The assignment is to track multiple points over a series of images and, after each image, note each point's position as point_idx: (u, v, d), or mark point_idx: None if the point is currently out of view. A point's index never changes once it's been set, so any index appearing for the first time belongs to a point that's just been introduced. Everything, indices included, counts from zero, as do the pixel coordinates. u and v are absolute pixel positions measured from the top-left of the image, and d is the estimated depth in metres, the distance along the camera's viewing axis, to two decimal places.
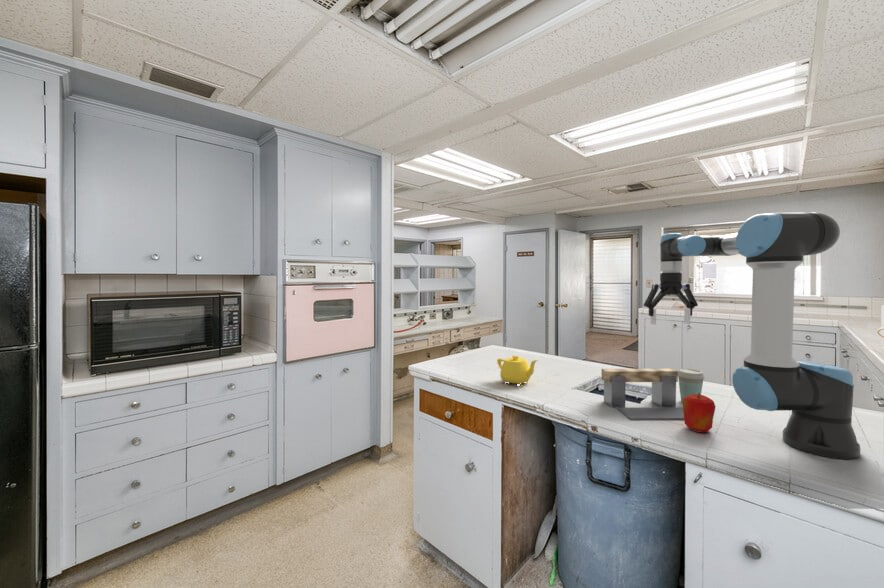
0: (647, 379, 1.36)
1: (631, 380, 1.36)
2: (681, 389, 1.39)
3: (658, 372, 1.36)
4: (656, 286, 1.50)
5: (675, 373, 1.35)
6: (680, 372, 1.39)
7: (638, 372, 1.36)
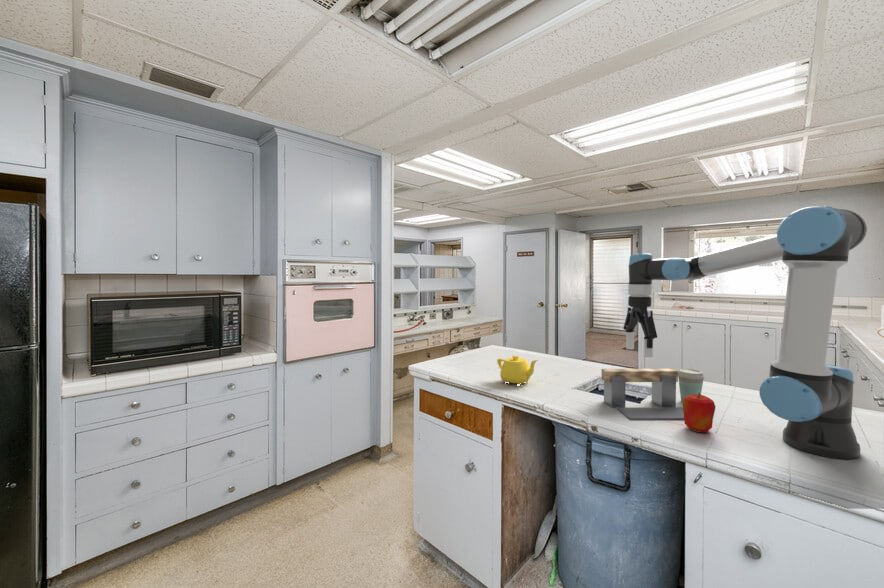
0: (647, 379, 1.36)
1: (631, 380, 1.36)
2: (681, 389, 1.39)
3: (658, 372, 1.36)
4: (628, 309, 1.43)
5: (675, 373, 1.35)
6: (680, 372, 1.39)
7: (638, 372, 1.36)
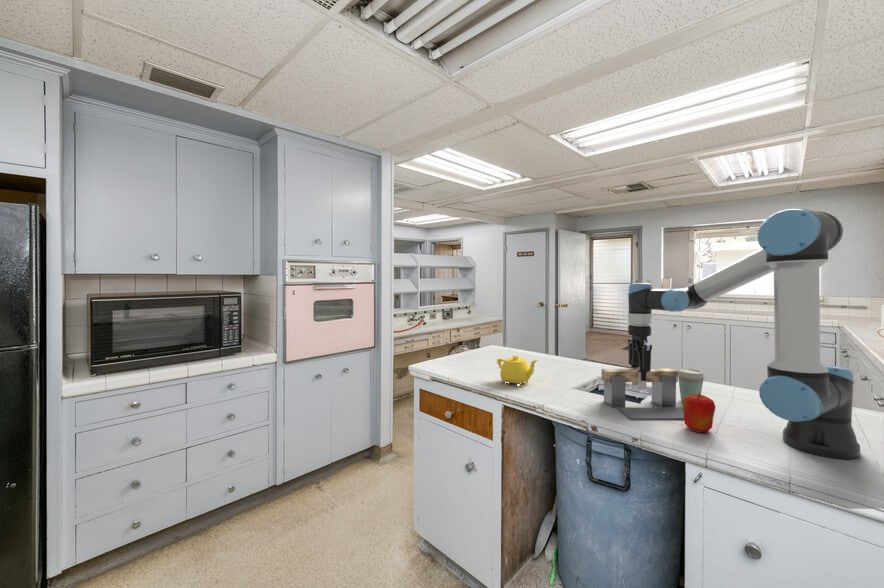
0: (647, 379, 1.36)
1: (631, 380, 1.36)
2: (681, 389, 1.39)
3: (658, 372, 1.36)
4: (628, 341, 1.43)
5: (675, 373, 1.35)
6: (680, 372, 1.39)
7: None
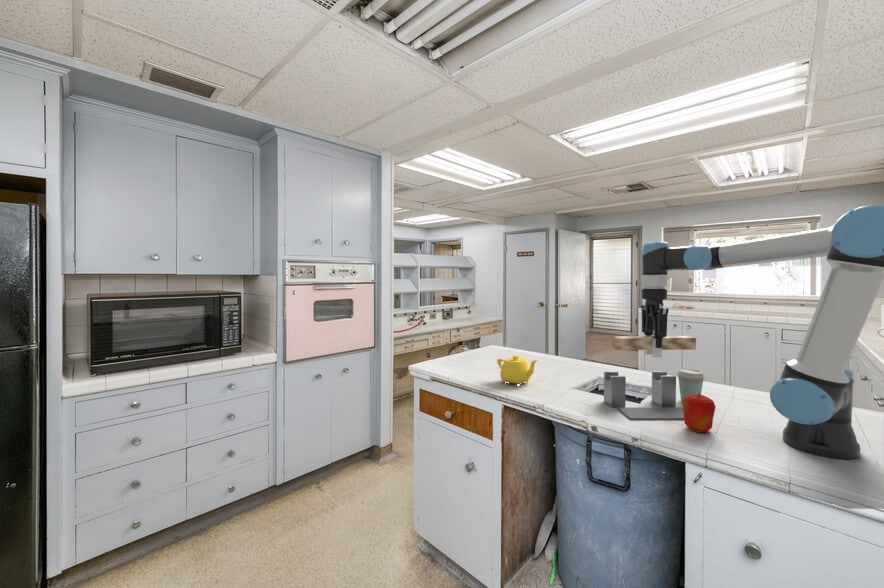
0: (662, 346, 1.25)
1: (645, 348, 1.26)
2: (681, 389, 1.39)
3: (674, 339, 1.25)
4: (641, 307, 1.33)
5: (693, 340, 1.25)
6: (680, 372, 1.39)
7: None
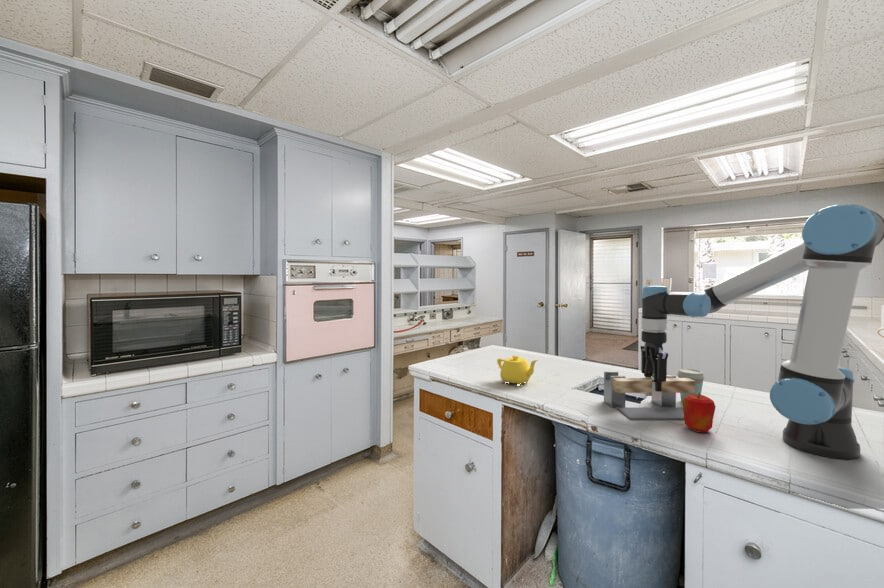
0: (662, 389, 1.26)
1: (645, 390, 1.26)
2: None
3: (674, 382, 1.26)
4: (641, 348, 1.33)
5: (692, 383, 1.25)
6: (680, 372, 1.39)
7: None
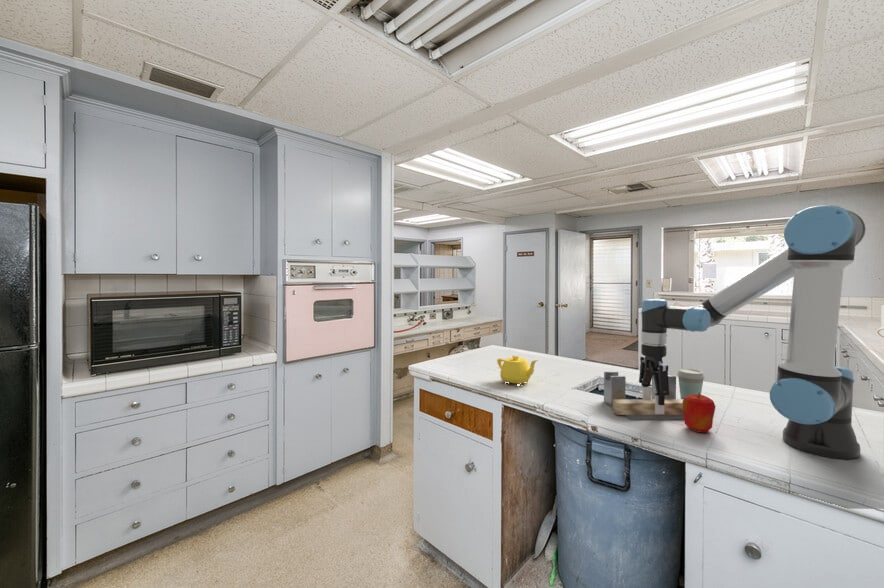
0: None
1: (645, 413, 1.26)
2: (681, 389, 1.39)
3: (674, 404, 1.26)
4: (640, 359, 1.34)
5: None
6: (680, 372, 1.39)
7: (652, 404, 1.26)
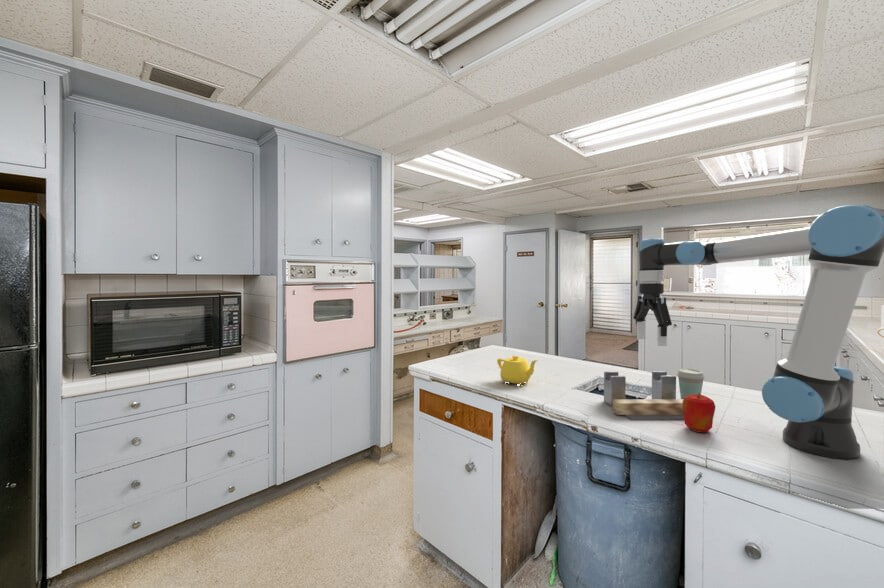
0: (662, 411, 1.26)
1: (645, 413, 1.26)
2: (681, 389, 1.39)
3: (674, 404, 1.26)
4: (638, 297, 1.38)
5: None
6: (680, 372, 1.39)
7: (652, 404, 1.26)
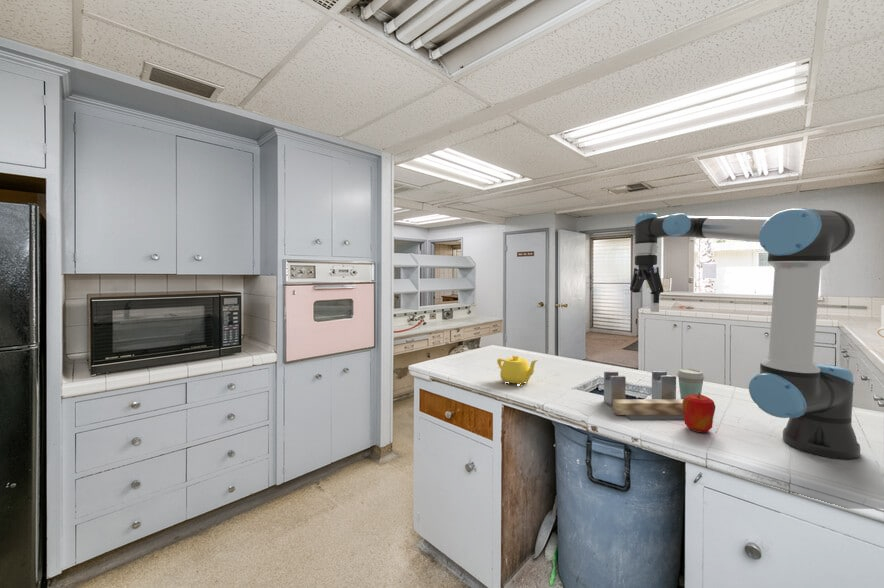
0: (662, 411, 1.26)
1: (645, 413, 1.26)
2: (681, 389, 1.39)
3: (674, 404, 1.26)
4: (634, 270, 1.48)
5: None
6: (680, 372, 1.39)
7: (652, 404, 1.26)
